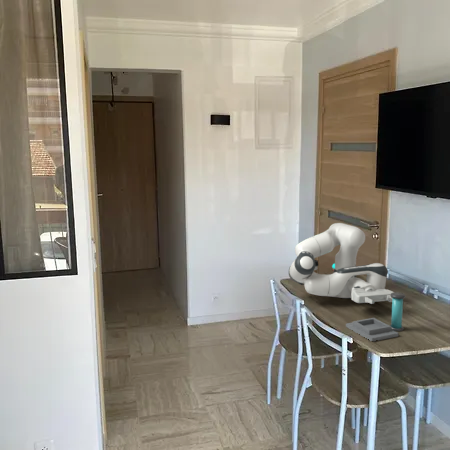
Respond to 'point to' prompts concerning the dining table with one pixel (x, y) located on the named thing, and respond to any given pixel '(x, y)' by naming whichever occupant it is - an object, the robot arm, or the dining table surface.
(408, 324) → the dining table surface
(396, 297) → the teal and grey rod
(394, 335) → the board
